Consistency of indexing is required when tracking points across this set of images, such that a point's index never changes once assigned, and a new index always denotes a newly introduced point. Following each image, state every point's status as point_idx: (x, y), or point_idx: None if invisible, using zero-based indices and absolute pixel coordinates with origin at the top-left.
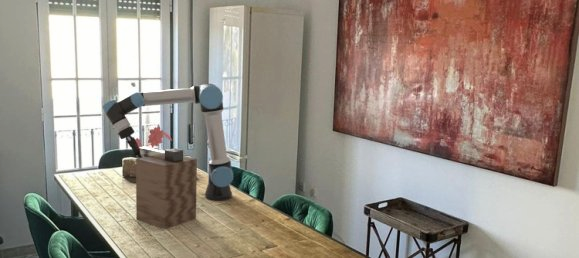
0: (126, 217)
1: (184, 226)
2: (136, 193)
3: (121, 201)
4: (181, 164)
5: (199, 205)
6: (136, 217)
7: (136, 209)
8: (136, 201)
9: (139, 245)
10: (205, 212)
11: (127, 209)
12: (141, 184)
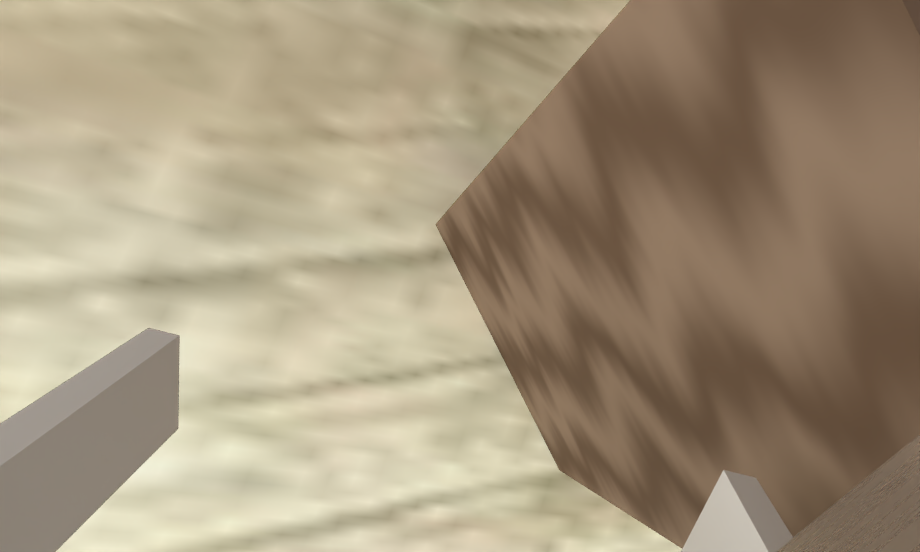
0: (501, 531)
1: None
2: (675, 540)
3: (71, 540)
4: None
5: (418, 4)
6: (566, 473)
7: (593, 489)
8: (629, 511)
9: None
10: (565, 31)
11: (325, 508)
12: None
